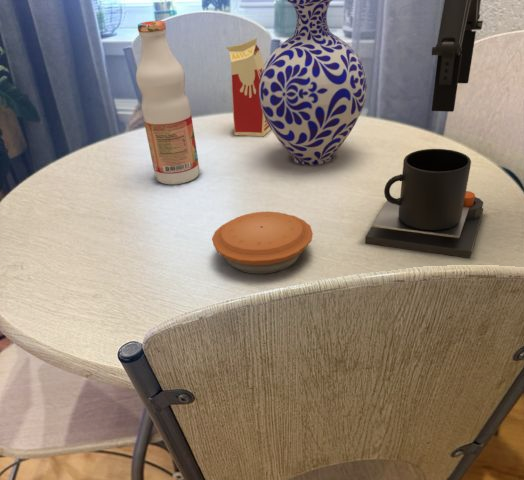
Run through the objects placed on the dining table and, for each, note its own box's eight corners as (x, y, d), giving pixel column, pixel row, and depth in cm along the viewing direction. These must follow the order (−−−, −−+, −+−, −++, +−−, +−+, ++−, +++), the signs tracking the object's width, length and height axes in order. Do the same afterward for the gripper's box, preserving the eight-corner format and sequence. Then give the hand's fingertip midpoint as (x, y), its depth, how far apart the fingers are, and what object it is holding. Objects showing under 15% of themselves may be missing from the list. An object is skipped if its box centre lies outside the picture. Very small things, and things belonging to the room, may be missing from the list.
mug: (378, 206, 87) (382, 150, 82) (453, 202, 86) (462, 146, 81) (385, 233, 80) (390, 174, 74) (467, 230, 79) (478, 170, 73)
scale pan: (468, 209, 85) (469, 207, 85) (459, 238, 78) (459, 236, 78) (388, 200, 90) (388, 198, 89) (372, 226, 83) (372, 225, 83)
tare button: (474, 201, 88) (476, 191, 87) (471, 209, 86) (473, 198, 85) (456, 200, 89) (458, 190, 88) (453, 207, 87) (455, 197, 86)
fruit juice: (146, 178, 113) (114, 25, 95) (181, 164, 117) (156, 16, 100) (174, 189, 107) (144, 29, 89) (209, 174, 112) (188, 19, 94)
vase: (255, 176, 109) (241, 4, 90) (272, 140, 125) (263, -13, 106) (361, 176, 105) (370, -4, 86) (364, 139, 121) (373, -20, 102)
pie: (204, 281, 80) (200, 251, 76) (226, 232, 91) (222, 204, 88) (307, 283, 77) (307, 253, 74) (316, 233, 89) (316, 204, 86)
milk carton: (274, 124, 135) (270, 33, 122) (265, 136, 128) (259, 42, 115) (240, 123, 137) (232, 34, 124) (229, 135, 130) (219, 43, 117)
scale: (482, 213, 90) (486, 197, 88) (469, 258, 79) (473, 240, 77) (388, 203, 96) (389, 187, 94) (364, 243, 85) (365, 225, 83)
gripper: (459, -105, 70) (438, 72, 83) (422, -99, 53) (403, 123, 66) (521, -112, 67) (489, 73, 81) (504, -108, 50) (467, 125, 64)
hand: (450, 96), depth 74 cm, fingers open, 13 cm apart
